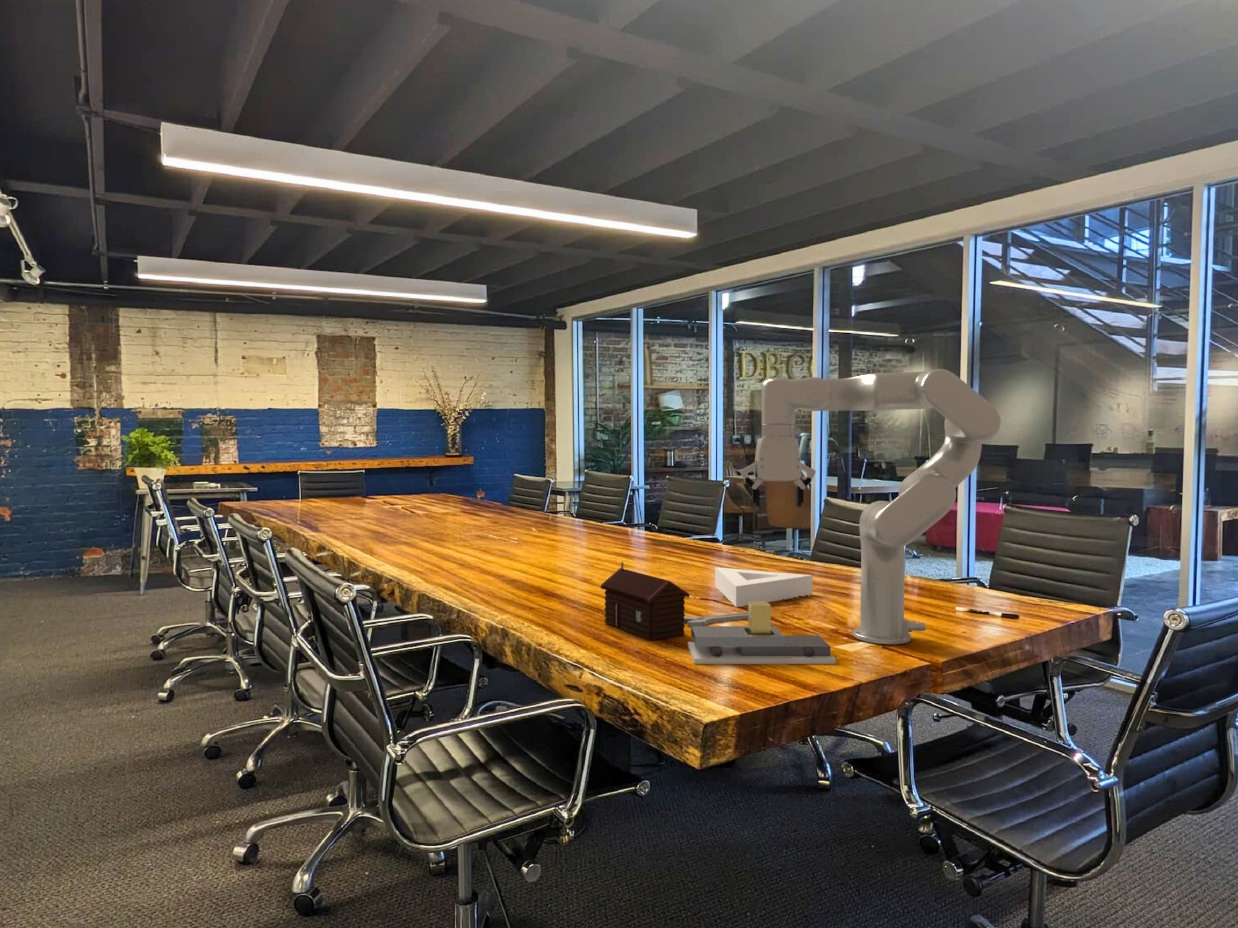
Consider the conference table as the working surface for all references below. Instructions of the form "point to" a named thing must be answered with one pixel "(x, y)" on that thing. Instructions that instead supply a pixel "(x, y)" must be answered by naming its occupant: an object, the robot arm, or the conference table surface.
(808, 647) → the gray toy truck
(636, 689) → the conference table surface
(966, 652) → the conference table surface
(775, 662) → the board
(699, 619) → the adjustable wrench
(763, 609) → the pin
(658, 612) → the model building
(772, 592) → the triangle block
